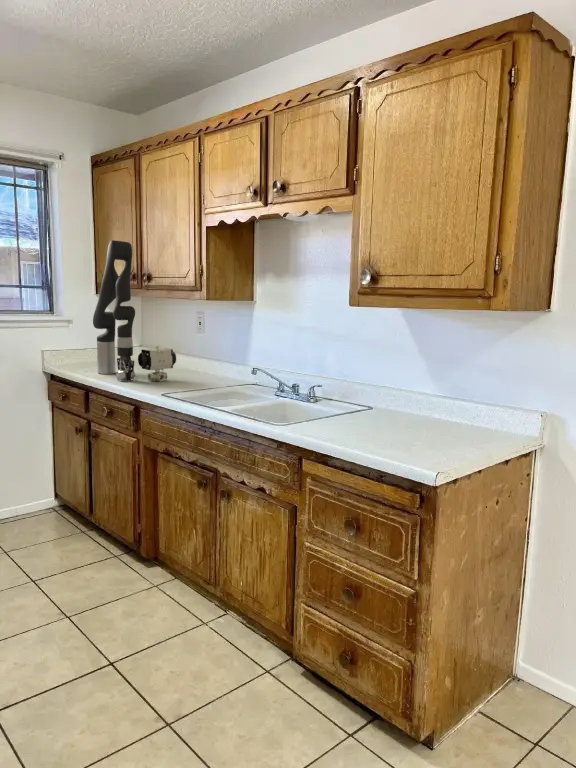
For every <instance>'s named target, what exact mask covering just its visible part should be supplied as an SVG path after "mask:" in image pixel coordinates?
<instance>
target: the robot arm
mask: <svg viewBox="0 0 576 768" xmlns="http://www.w3.org/2000/svg"><path fill="white" fill-rule="evenodd" d="M106 252H107V254H106V260H105V267H104V272H103V275H102V276H103V277H102V280H101V286H100V291H99V295H98V299H97V304H96V307H95V309H94V313H93V316H92V324H93V325H92V326H93V327H94V328H95V329H97V330H105V332H104V333H101V334H99V335H98V336H97V337H96V350H97V351H96V353H97V356H96V357H97V358H96V359H97V361H96V362H97V373H98V374H99V373H100V375H110V374H111V375H112V374H115V373H116V374H117V371H116V363H117V370H118V371H120V370H122V369H126V380H127V382H130V381H129V380H131V381H132V379H131V373H132V372H135V369H134V368H135V360H132V358H131V357H132V356H134V343H133V324H134V321H135V317H136V309H135V308H134V306H133V305H122V303H126V302H130V301H131V299H132V298H131V297H132V296H131V294H132V293H131V274H132V263H133V247H132V244H131V243H130V241H129V242H128V241H123V240H114V239H113V240H110V241H109V243H108V246H107V251H106ZM116 260H117V261H123V262H124V265H123V268H122V271H121V273H120V274H118V272H117V270H116V267H115V261H116ZM114 301H115V303H114V307H113V311H107V310H106V309H107V308H108V307H109V306H110V304H112V303H113V302H114ZM116 321H127V322H126V323H124V324H120V325H118V326H117V327H116V323H117V322H116ZM116 328H117V330H116ZM116 332H117V333H116ZM116 334H117V342H116ZM116 346H117V348H116ZM116 350H117V351H116ZM116 352H117V353H116ZM116 355H117V356H119V357H117V358H116Z"/></svg>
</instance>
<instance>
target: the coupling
mask: <svg viewBox="0 0 576 768" xmlns="http://www.w3.org/2000/svg"><path fill="white" fill-rule="evenodd" d="M115 376H116V379H117V381H122V380H123V382H125V381H127V380H126V369H122V370H118V371H116V374H115ZM135 378H136V372H135V371H134V372H132V373H131V380H129V381H127V382H132V380H134V379H135Z"/></svg>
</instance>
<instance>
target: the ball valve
mask: <svg viewBox="0 0 576 768" xmlns="http://www.w3.org/2000/svg"><path fill="white" fill-rule="evenodd" d="M159 347H160V346H159V345H155V348H146V349H144V348H143V349H141V352H140V353H139V354H138V355H137V363H138V365H139V367H141V369H142V370H146V371H153V372H150V373H148V374H147V380H148V381H149V382H152V381H154V382H159V383H162V382H165V381H166V380H167V379H168V373H167V372H165V371H164V370H166V369H168V370H169V369H174V366H175V364H176V362H177V354H176V352H175V351H174V349H172V348H167V347H164V348H163V347H161V348H159ZM160 370H161V371H160Z"/></svg>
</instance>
